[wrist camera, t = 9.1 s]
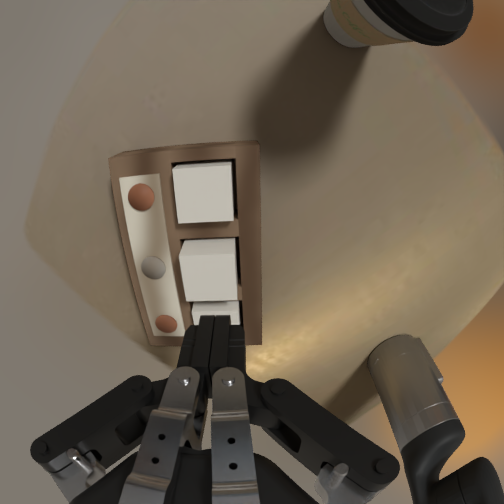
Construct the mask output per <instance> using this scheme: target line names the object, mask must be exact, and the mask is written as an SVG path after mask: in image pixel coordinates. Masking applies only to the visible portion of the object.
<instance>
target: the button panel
mask: <svg viewBox="0 0 504 504" xmlns="http://www.w3.org/2000/svg"><path fill="white" fill-rule="evenodd" d="M214 159H232V171H233V193H234V221H218V222H197V223H179V224H178V217H177V209H176V200H175V191H174V181H173V171H172V169H173V168H174V167H175V166H176V165H177V164H179V163H180V162H186V161H199V160H214ZM108 161H109V168H110V175H111V182H112V189H113V195H114V201H115V206H116V212H117V217H118V223H119V228H120V233H121V237H122V242H123V247H124V251H125V256H126V260H127V264H128V268H129V272H130V276H131V280H132V284H133V288H134V292H135V295H136V299H137V303H138V306H139V310H140V313H141V316H142V320H143V323H144V326H145V330H146V333H147V336H148V339H149V342H150V345H151V346H182V342H183V338H184V334H185V331H186V330H187V329H188V327H189V326H190V325H194V321H193V316H192V308H193V303H194V302H199V301H186V297H185V291H184V285H183V279H182V273H181V267H180V261H179V254H180V251H181V249H182V246H183V243H184V241H185V239H198V238H221V237H235V244H236V262H237V280H238V284H237V300H239V305H240V322H241V326H242V328H243V329H244V331H245V345H262V276H261V198H260V145H259V143H258V141H231V142H212V143H198V144H186V145H175V146H165V147H156V148H148V149H140V150H132V151H125V152H122V153H119V154H117V155H115V156H113V157H110V158H108ZM223 301H235V300H223Z"/></svg>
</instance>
